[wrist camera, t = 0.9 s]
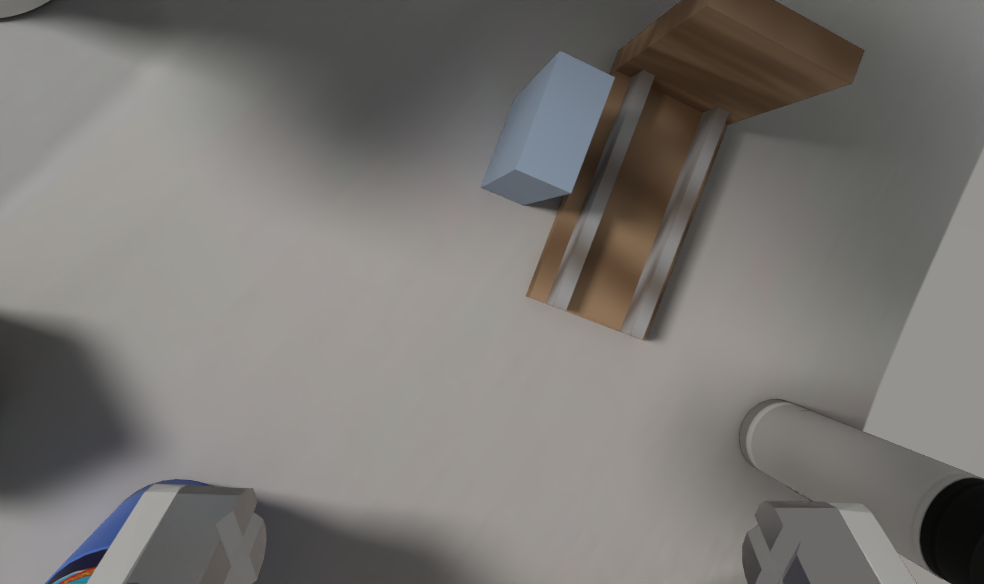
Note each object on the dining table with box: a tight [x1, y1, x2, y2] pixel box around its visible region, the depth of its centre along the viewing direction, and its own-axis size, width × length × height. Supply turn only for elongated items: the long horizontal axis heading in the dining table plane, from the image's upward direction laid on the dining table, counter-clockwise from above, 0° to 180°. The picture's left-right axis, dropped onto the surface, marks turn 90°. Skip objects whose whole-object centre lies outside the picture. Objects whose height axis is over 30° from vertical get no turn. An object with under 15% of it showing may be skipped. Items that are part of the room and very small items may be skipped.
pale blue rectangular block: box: [481, 51, 615, 205], centre depth 38 cm, size 7×4×11 cm, turn 159°
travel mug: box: [739, 399, 984, 584], centre depth 39 cm, size 6×7×20 cm
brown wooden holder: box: [526, 0, 865, 341], centre depth 38 cm, size 20×10×13 cm, turn 159°
